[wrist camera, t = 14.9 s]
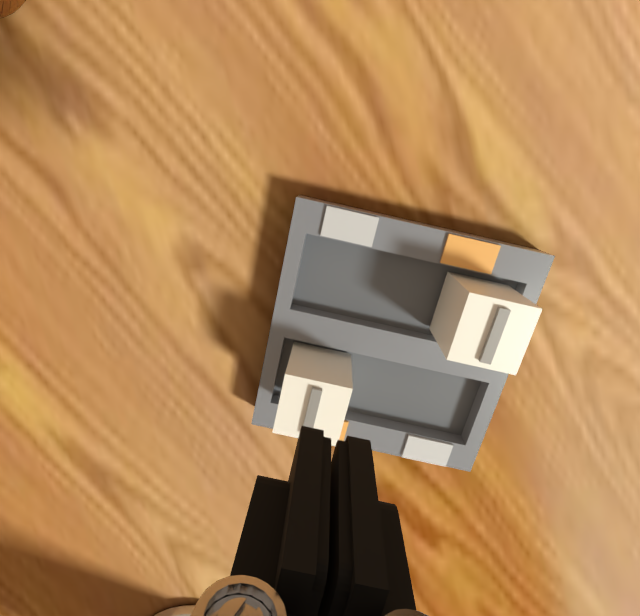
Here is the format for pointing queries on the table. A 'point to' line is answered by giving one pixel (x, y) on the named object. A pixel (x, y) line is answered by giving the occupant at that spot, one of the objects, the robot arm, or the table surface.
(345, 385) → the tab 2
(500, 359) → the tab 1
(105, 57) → the table surface
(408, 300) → the switch bank
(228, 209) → the table surface
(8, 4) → the disposable coffee cup
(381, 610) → the robot arm
